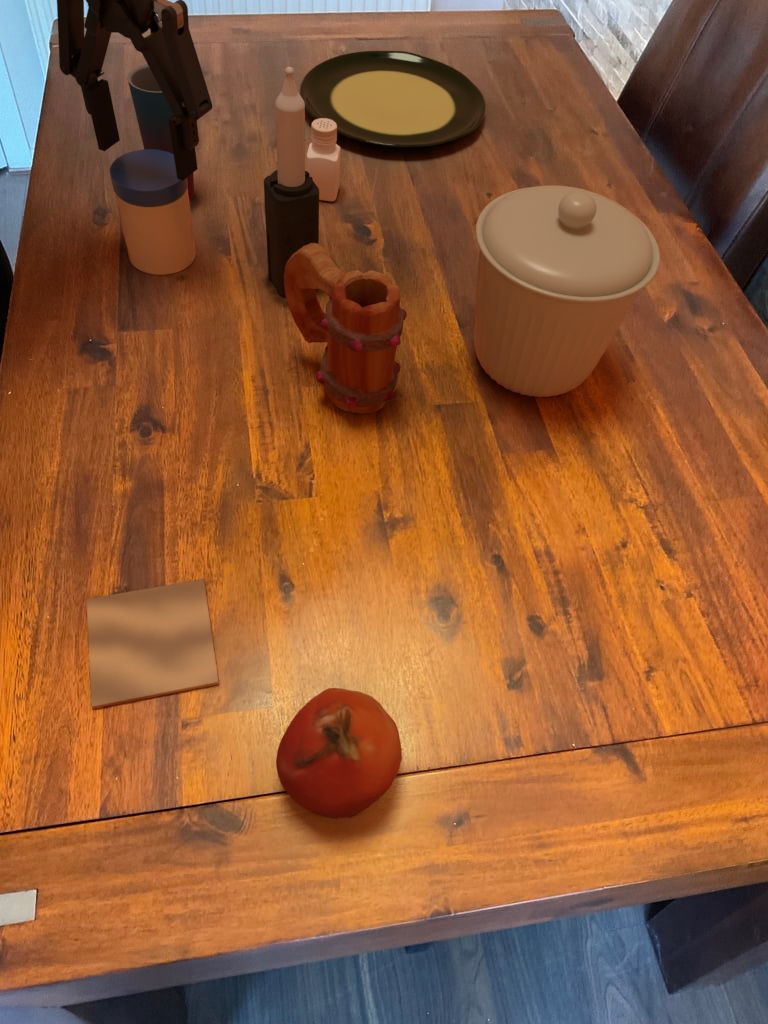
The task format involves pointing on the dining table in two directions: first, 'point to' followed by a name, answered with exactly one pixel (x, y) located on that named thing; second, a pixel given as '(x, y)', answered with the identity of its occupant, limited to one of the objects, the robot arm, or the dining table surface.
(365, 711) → the tomato
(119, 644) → the coaster
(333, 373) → the mug
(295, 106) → the candle
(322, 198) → the salt shaker
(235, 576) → the dining table surface
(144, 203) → the lid
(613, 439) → the dining table surface
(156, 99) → the cup
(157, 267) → the jar
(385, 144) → the plate
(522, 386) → the canister
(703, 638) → the dining table surface
